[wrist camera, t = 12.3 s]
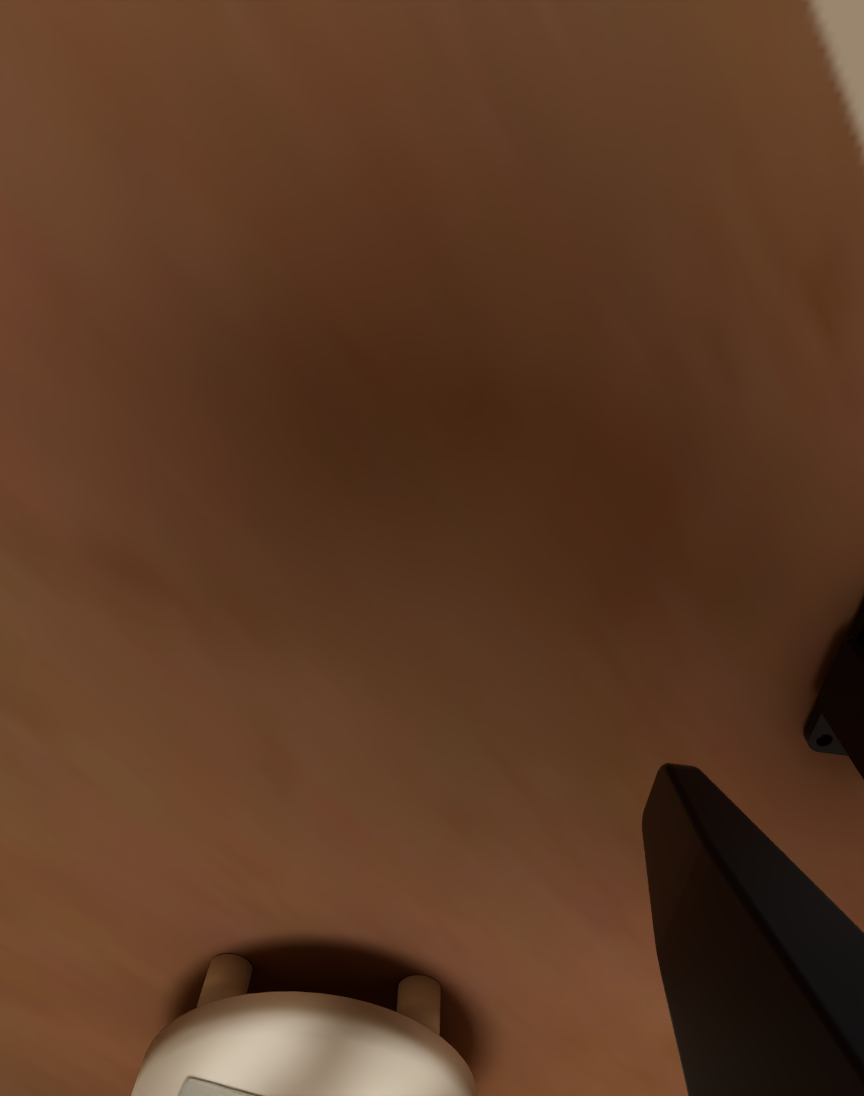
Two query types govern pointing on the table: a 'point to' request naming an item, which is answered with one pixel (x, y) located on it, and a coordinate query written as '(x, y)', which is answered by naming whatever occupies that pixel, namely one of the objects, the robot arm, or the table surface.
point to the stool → (305, 1042)
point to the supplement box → (206, 1089)
